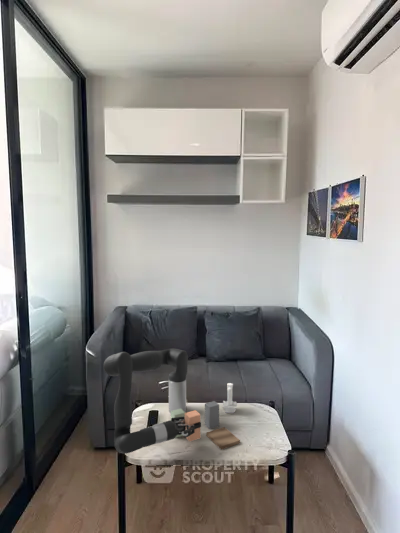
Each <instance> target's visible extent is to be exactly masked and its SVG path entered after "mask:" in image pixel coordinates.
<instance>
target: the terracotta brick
mask: <svg viewBox="0 0 400 533" xmlns="http://www.w3.org/2000/svg"><path fill="white" fill-rule="evenodd" d="M198 422H201V413H199V412H198V411H197V410H196V409H195V410H190V411H187V412H185V424H189V425H190V424H194V423H198ZM201 427H202V426H201ZM201 427H200V428H197V429H195V433H193V434H192V435H190V436H188V437H186V438H185V439H187V441H188V442H193V441H196V440H198V439H199V440H200V439H201ZM189 428H191V427H189ZM186 429H187V427H186Z"/></svg>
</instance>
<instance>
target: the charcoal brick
mask: <svg viewBox="0 0 400 533" xmlns="http://www.w3.org/2000/svg"><path fill="white" fill-rule="evenodd" d="M204 425H205V427H206V428H208V429H209V430H211V429H214V428H218V427H219V426H220V404H219V403H218V402H217V401H215V400H212V401H209V402H206V403H204Z"/></svg>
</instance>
